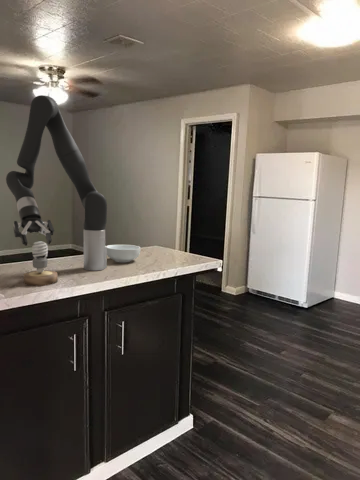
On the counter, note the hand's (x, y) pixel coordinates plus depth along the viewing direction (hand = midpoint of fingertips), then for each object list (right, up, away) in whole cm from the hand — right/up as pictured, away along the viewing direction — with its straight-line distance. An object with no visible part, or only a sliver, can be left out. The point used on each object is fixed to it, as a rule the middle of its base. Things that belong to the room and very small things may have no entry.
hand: (38, 243), depth 148 cm
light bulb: (+1, -11, -1) cm, 11 cm away
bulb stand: (+1, -14, -1) cm, 14 cm away
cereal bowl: (+26, -9, +43) cm, 51 cm away
